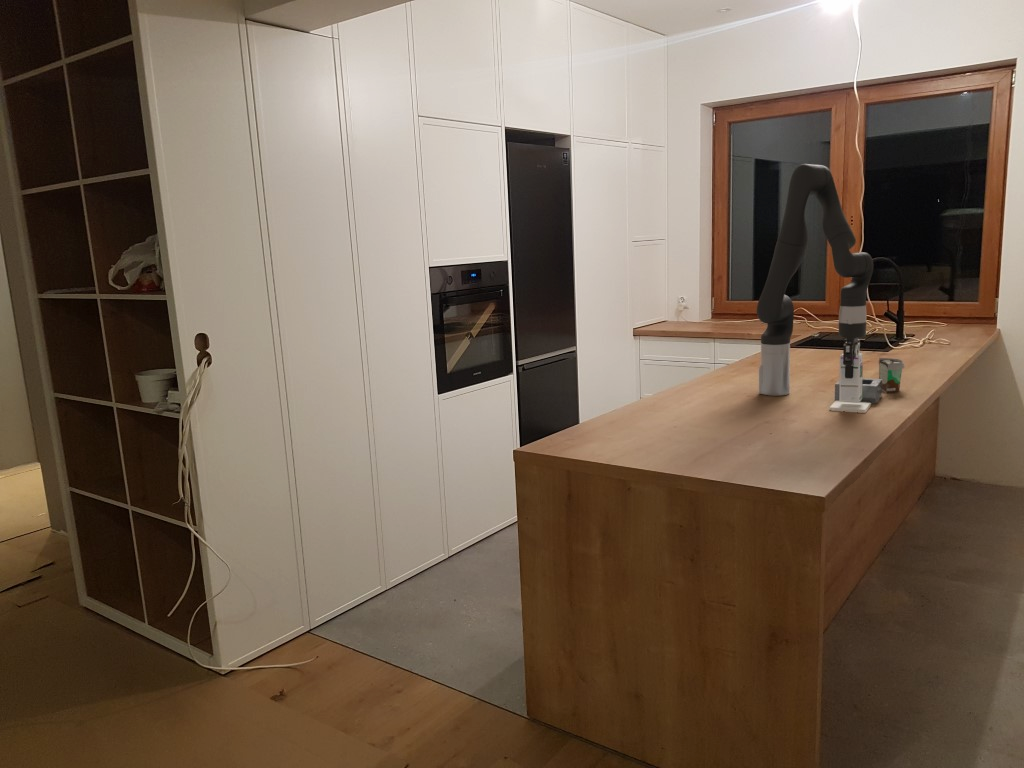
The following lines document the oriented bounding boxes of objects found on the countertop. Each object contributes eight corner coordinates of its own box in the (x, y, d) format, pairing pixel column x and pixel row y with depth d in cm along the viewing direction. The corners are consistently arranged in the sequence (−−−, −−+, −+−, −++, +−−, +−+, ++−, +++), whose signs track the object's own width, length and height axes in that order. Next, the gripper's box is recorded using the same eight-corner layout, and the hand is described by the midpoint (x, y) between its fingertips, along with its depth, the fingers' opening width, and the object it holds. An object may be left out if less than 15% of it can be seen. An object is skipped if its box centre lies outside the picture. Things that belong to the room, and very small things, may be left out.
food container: (908, 394, 246) (909, 363, 244) (887, 394, 247) (888, 363, 245) (897, 386, 258) (898, 357, 256) (877, 386, 259) (878, 357, 257)
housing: (834, 401, 242) (835, 384, 241) (841, 393, 252) (842, 377, 251) (875, 403, 236) (876, 386, 235) (881, 395, 245) (882, 379, 244)
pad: (829, 410, 231) (829, 407, 230) (835, 403, 239) (835, 400, 239) (865, 413, 225) (865, 409, 225) (870, 405, 233) (870, 402, 233)
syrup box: (859, 403, 228) (861, 355, 225) (838, 401, 231) (839, 354, 228) (862, 399, 232) (863, 352, 230) (841, 397, 235) (842, 351, 233)
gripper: (843, 317, 235) (841, 371, 238) (834, 323, 223) (832, 380, 226) (870, 317, 231) (868, 372, 234) (862, 323, 219) (860, 381, 222)
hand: (850, 376), depth 230 cm, fingers closed on syrup box, 5 cm apart
